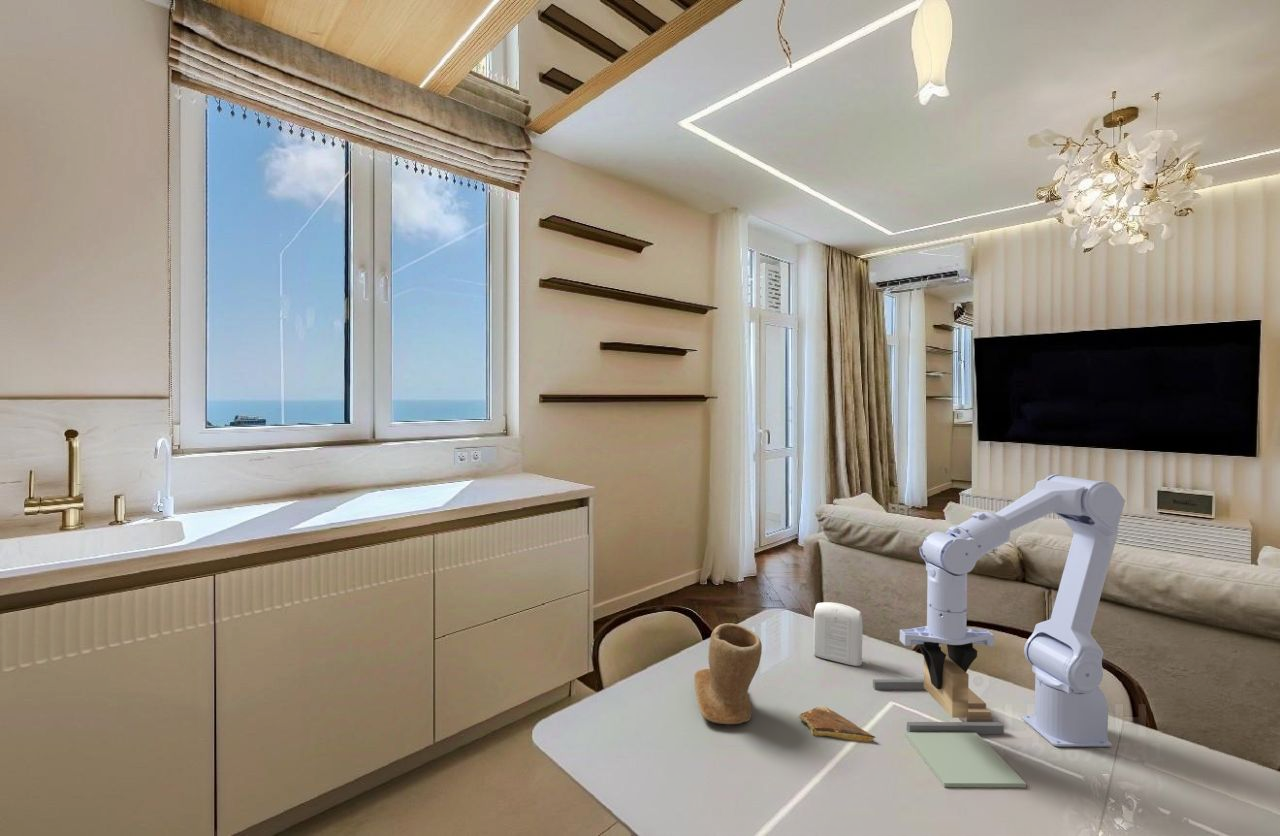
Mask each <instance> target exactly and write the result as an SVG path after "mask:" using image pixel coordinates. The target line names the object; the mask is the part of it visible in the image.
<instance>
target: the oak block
mask: <svg viewBox="0 0 1280 836" xmlns="http://www.w3.org/2000/svg"><path fill="white" fill-rule="evenodd" d="M923 679H924V688H925V689H926V690H925V691H927V693H928V694H929V695H930V696H931V697H932V698H933V700H935V701H936V703H938V704H939V705H940V706H941V707H942V709H943V710H945V712H947V714H948V715H949V716H950V717H951V718H952V719H954V718H955V719H956V718H958V719H959V718H968V688H969V681H970V680H969V673H968V672H965V671H964V670H963V669H962V668H960V667H959V666H958V665H957V664H956V663H955V662H953V661H952V660H951V659H950V658H949V656H948V655H946V658H945V661H944V665H943V673H942V688H941V689H936V688H935V687H934V686H933V685H932V684H931V679H930V674H929V670H928V667H927V664H926V661H925V659H924V658H923Z"/></svg>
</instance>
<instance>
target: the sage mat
mask: <svg viewBox="0 0 1280 836" xmlns="http://www.w3.org/2000/svg"><path fill="white" fill-rule="evenodd" d="M904 734H905V738H906V739H907V740H908V741H909V743H910V744H911V745H912V747H913V748H914V749H915V751H916V752H917V754H918V755H919V756H920V758H921V759H922V760H923V761H924V763H925V764H926V765H927V767H929V769H930V770H931V771H932V772H931V773H933V774H934V775H935V777H936V778H937V780H938V781H939V782H940V784H941V785H942V786H943V788H1027V783H1026V782H1025V780H1024V779H1022V778H1021V776H1020V775H1018V773H1016V772H1015V770H1014V769H1013V768H1011V766H1010V765H1008V763H1006V761H1005V760H1004V759H1003V758H1002V757H1001V756H1000V755H999V754H998V753H997V752H996V751H995V750H994V749H993V748H992V747H991V746H990V745H989V744H988V743H987V742H986V740H984V739H983V738H982V737H981V736H980V734H977V733H947V732H908V731H907V732H905V733H904Z"/></svg>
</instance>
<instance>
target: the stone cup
mask: <svg viewBox="0 0 1280 836" xmlns="http://www.w3.org/2000/svg"><path fill="white" fill-rule="evenodd" d="M762 649H763V647H762V641H761V639H760V638H759V636H758V635H757V633H756V632H754V631H753V630H751V629H750V628H747V627H745V626H743V625H740V624H736V623H731V622H730V623H726V622H725V623H721V624H719V625H716V627H715V628H714V629H713V630H712V632H711V634H710V639H709V647H708V656H707V657H708V665H709V668H704V669H700V670H697V671H696V672H695V673H694V678H693V679H694V688H695V689H694V690H695V697H696V702H697V706H698V709H699V712H700V714H701V716H702V717H703V718H704V719H705V720H707V721H708V722H711V723H716V724H720V725H738V724H742V723H746V722H748V721H750V719H751V717H752V703H751V699H750V696H749V694H748V691H749V688H750V686H751V683H752V681H753V679H754V677H755V675H756V673H757V671H758V669H759V667H760V662H761V657H762V652H763V651H762Z"/></svg>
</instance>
